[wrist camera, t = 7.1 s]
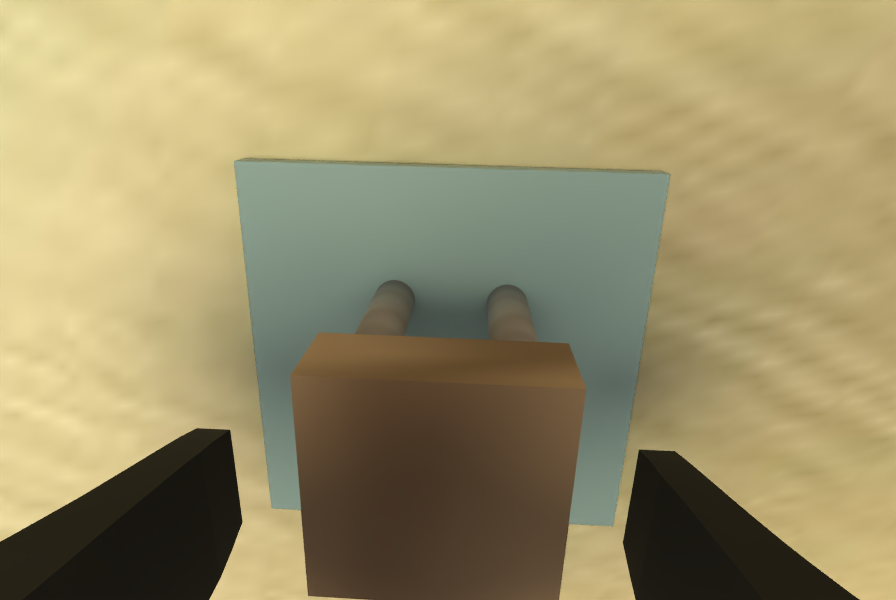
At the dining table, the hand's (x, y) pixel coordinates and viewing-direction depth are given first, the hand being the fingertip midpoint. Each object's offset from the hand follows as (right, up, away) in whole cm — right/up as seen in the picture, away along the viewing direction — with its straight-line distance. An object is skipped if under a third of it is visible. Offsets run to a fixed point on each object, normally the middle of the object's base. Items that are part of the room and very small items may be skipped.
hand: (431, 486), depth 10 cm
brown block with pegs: (0, +2, +4) cm, 5 cm away
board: (0, +2, +5) cm, 5 cm away
